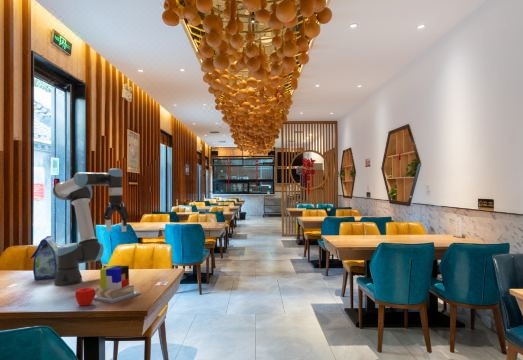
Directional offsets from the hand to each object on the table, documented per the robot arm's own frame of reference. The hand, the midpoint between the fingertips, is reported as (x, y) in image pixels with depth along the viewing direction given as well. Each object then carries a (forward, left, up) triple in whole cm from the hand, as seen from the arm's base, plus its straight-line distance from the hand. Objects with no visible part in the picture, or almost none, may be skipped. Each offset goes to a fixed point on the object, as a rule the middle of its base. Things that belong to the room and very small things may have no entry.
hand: (116, 231), depth 220 cm
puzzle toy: (+18, -15, -27) cm, 36 cm away
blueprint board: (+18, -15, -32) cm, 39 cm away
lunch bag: (-65, -4, -32) cm, 73 cm away
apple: (+17, -32, -32) cm, 48 cm away
